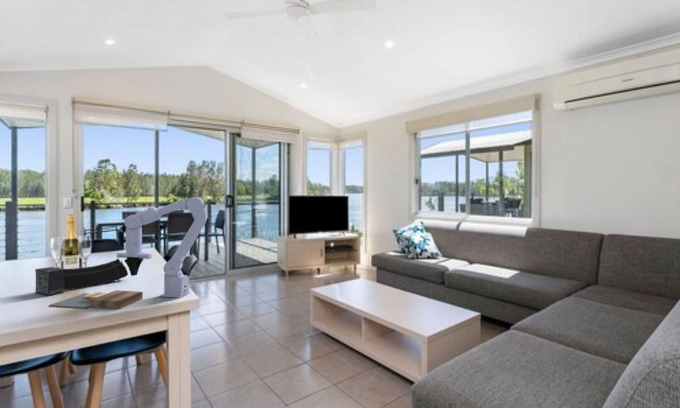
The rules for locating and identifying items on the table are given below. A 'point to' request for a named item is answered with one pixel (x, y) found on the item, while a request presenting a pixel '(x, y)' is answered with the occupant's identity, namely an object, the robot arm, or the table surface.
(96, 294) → the birch tile
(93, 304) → the block
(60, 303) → the charcoal mat
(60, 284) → the small box
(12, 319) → the table surface
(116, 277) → the magazine
